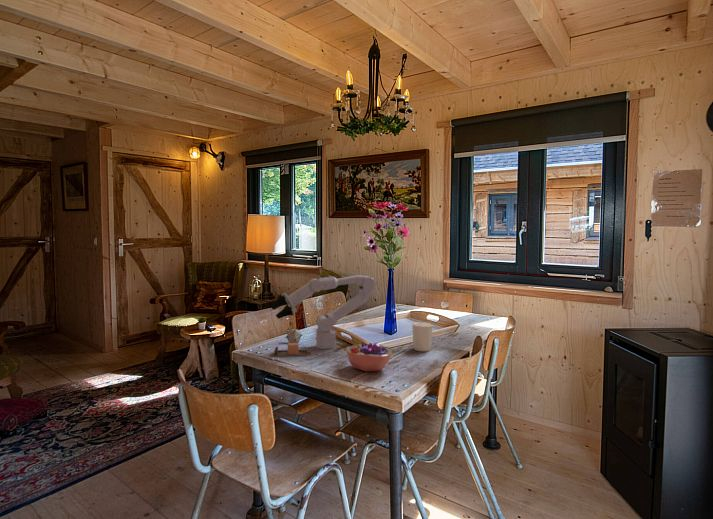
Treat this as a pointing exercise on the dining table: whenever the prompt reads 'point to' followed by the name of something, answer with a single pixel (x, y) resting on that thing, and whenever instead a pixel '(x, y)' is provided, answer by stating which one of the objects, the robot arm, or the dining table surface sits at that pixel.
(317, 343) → the robot arm
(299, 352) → the brown boxy piece
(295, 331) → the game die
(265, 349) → the dining table surface
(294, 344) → the block
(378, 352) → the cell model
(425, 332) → the candle holder
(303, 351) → the lane rails
